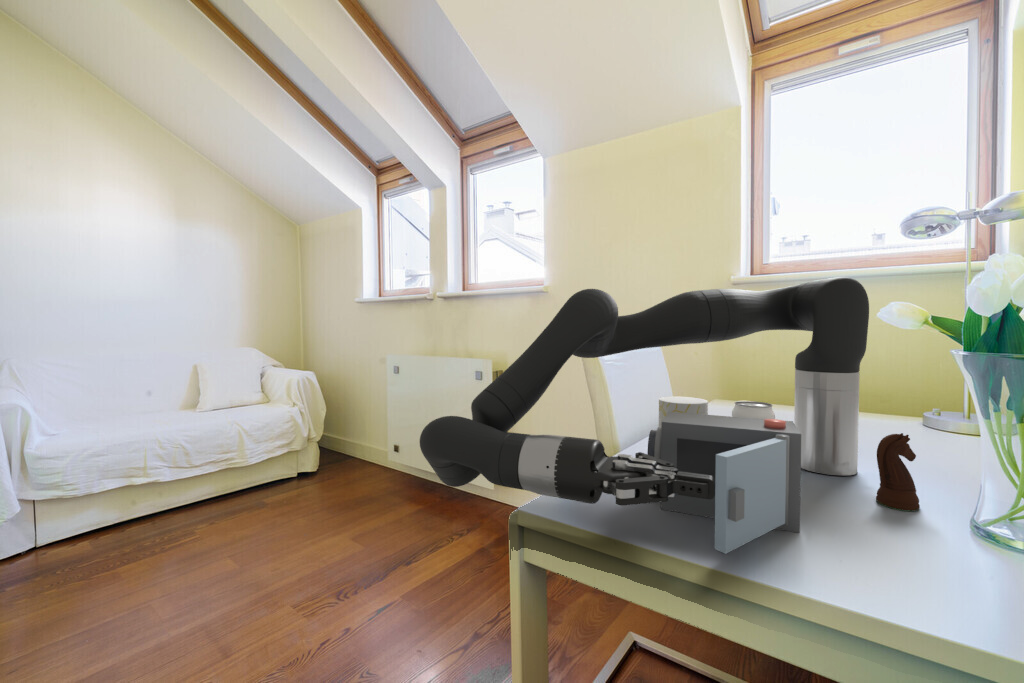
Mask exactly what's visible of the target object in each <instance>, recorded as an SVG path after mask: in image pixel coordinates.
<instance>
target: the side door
mask: <svg viewBox="0 0 1024 683" xmlns="http://www.w3.org/2000/svg"><path fill="white" fill-rule="evenodd" d="M788 494H789V436H788V435H782V434H777V435H776V438H773V439H769V440H766V441H762V442H758V443H755V444H751V445H748V446H744V447H741V448H737V449H734V450H730V451H726V452H723V453H719V454H716V476H715V518H714V549H715V550H717V551H718V552H721V553H723V554H725V555H726V554H728V553H730V552H732V551H734V550H736V549H739V548H740V547H741V546H743V545H746V544H747V543H749V542H751V541H753V540H756V539H757V538H759V537H761V536H763V535H765V534H767V533H769V532H771V531H772V530H775V528H777V527H779V526H781V525H782V526H787V525H788Z"/></svg>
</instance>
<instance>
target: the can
mask: <svg viewBox="0 0 1024 683" xmlns="http://www.w3.org/2000/svg"><path fill="white" fill-rule="evenodd" d="M731 417H743V418H756V419H776V413H775V411H774V410H773V404H772V403H768V402H763V401H762V402H761V401H756V400H755V401H754V400H753V401H752V400H738V401H734V407H733V409H732V410H731Z"/></svg>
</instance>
